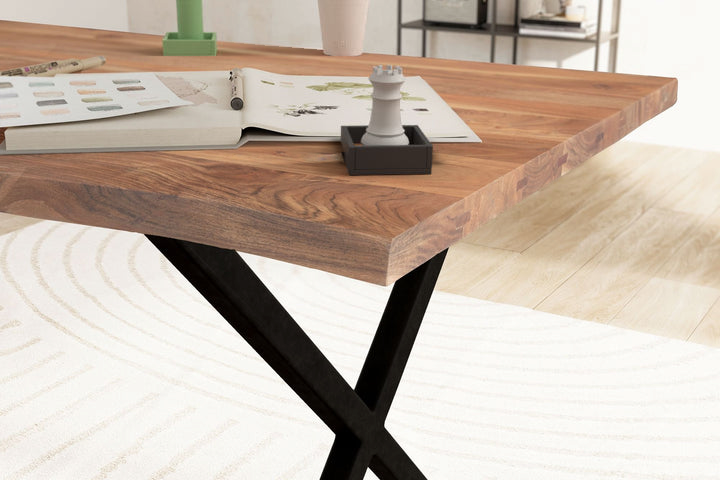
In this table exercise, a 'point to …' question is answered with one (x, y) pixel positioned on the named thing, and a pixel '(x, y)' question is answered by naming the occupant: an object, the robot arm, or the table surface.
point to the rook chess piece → (385, 108)
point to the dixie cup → (343, 26)
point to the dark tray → (386, 153)
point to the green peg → (190, 19)
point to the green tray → (189, 45)
